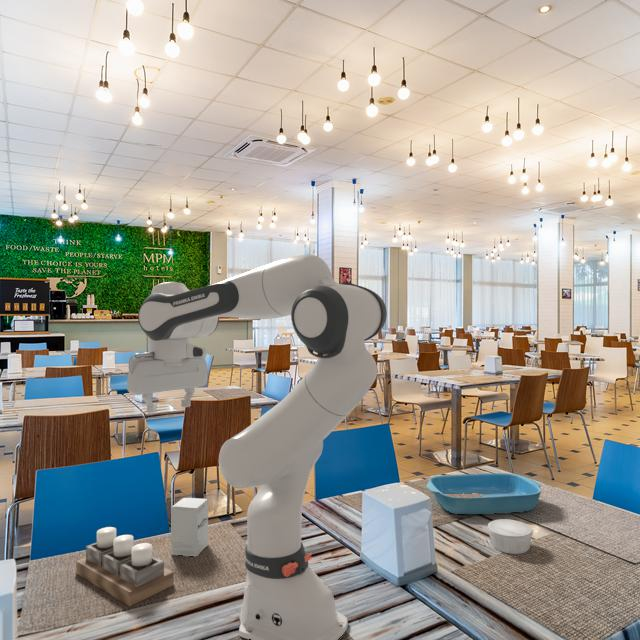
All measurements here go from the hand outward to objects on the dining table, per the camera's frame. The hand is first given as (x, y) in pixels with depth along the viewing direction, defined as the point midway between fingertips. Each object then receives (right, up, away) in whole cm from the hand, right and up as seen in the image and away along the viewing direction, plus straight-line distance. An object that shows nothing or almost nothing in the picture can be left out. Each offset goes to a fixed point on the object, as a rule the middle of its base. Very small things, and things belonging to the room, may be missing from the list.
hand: (169, 409), depth 121 cm
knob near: (-4, -34, -6) cm, 34 cm away
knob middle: (-10, -34, -2) cm, 35 cm away
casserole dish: (+89, -39, +45) cm, 107 cm away
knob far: (-16, -34, +3) cm, 37 cm away
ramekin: (+86, -39, +14) cm, 96 cm away
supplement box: (+1, -40, +13) cm, 42 cm away
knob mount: (-10, -40, -2) cm, 41 cm away
